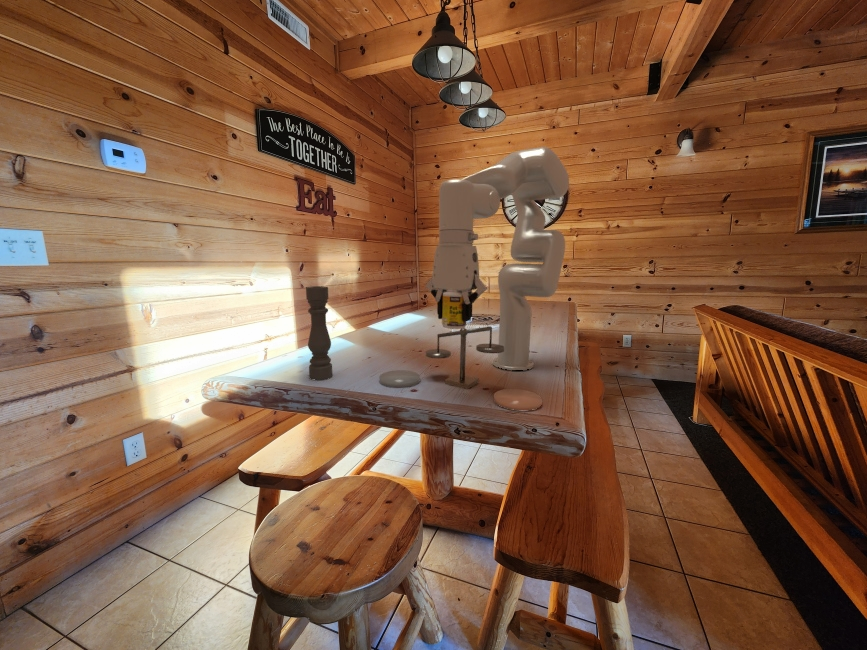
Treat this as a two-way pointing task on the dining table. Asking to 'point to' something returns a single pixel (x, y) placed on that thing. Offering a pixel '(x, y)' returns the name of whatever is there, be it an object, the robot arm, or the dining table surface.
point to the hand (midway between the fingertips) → (454, 318)
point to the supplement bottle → (452, 309)
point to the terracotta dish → (517, 399)
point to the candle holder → (319, 333)
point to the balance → (464, 355)
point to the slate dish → (399, 378)
